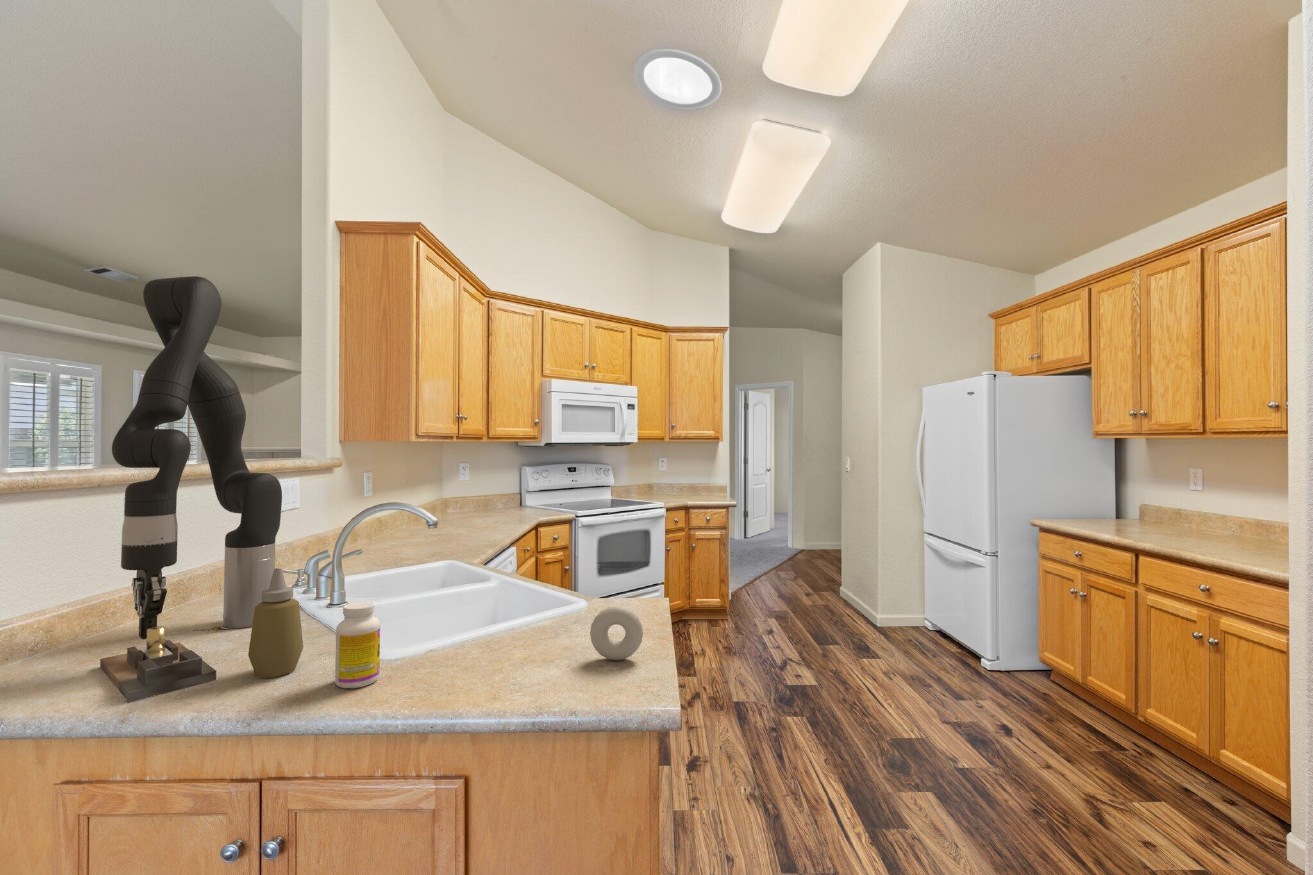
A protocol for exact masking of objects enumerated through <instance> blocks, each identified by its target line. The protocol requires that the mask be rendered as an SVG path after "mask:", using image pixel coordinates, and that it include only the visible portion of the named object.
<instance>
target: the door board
mask: <svg viewBox="0 0 1313 875" xmlns="http://www.w3.org/2000/svg"><path fill="white" fill-rule="evenodd" d="M165 648H166V649H168V650H169V651H170V652H171V653H173V663H172V664H168V665H163V666H159V667H158V666H157V665H156V664H155V663H154V662H153V661H152V660H151V659H148V660H143V654H142V653H141V652H140V651H139V648H137V647H136V646H130V647H127V648H126V653H122V654H118V655H113V656H108V657H104V658H100V659H99V661H100V662H99V667H100V669H101V670H102V671H103V673H104V674H105V675H106V677H107V678H108V679H109V680H110V681H111V683H112V684H113V685H114V686H115V687H116V689H117V688H118V689H117V690H118V691H119V692H120V694H121V695H122V696H123V697H124V699H125V700H126V699H127V700H126V701H127V702H128V703H132V702H136V701H139V700H140V701H141V700H143V699H147V698H146V697H148V698H152V697H155V696H158V695H161V694H162V695H163V694H168V693H170V691H171V692H174V690H175V691H178V690H181V689H185V688H190V687H193V686H197V685H200V684H206V683H208V682H209V683H210V682H213V681H217V670H216V669H215V668H213V667H212V666H211V665H210V664H208V663H207V662H206V661H204V660H203V657H201V656H200V655H199V654H197V653H196V652H195V651H193V650H192V649H189V648H187V647H186V646H185V645H183V644H182V643H181V642H176V643H174V642H173V641H171V640H170V639H165ZM189 686H190V687H189ZM154 695H155V696H154ZM151 696H152V697H151Z"/></svg>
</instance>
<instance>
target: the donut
mask: <svg viewBox="0 0 1313 875" xmlns="http://www.w3.org/2000/svg"><path fill="white" fill-rule="evenodd" d="M615 625H619V626H621V627H622V628H623V630H624V631H625V632H624V633H625V635H624V636H623V638H622V639H621V640H618V641H616V640H613V639H612V638H610V636H609V630H610V628H611V627H612V626H615ZM589 634H590V635H589V636H590V643H591V644H592V646H593V648H594V650H595V651H596V653H598V654H599V655H600V656H601V657H602V658H605V659H607V660H612V661H621V660H622V661H623V660H626V659H627V658H629V657H632V656H633V655H634V654H635V653H636V652H637V651H638V649H639V648H640V646H641V645H642V642H643V638H644V630H643V624H642V622H641V620H640V618H639V616H638V615H637V614H636V613H635V612H634V611H633V610H631V609H630V608H628V607H625V606H622V605H621V606H620V605H615V606H608V607H606V608H604V609H602V610H601V611H600V612H598V614H597V615H596V616H595V617H594V618H593V620H592V623H591V625H590V631H589Z"/></svg>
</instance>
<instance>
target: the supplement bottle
mask: <svg viewBox="0 0 1313 875" xmlns="http://www.w3.org/2000/svg"><path fill="white" fill-rule="evenodd" d="M374 612H375V603H374V602H371V601H357V602H351V603H347V604H345V605H343V608H342V614H343V617H344V619H343V620H341V621H340V622H339V623H338V624H337V625H336V629H335V668H334V671H335V673H334V678H335V679H334V683H335V685H336V686H337V687H339V688H342V689H347V688H350V689H358V688H363V687H366V686H369V685H371V684H374V683H375V682H377V681H378V679H379V677H380V671H381V670H380V669H381V666H380V665H381V663H380V662H381V657H380V656H381V655H380V654H381V622H380V620H379V619H378V618H377V617H375V616H373V615H374Z"/></svg>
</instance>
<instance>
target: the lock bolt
mask: <svg viewBox="0 0 1313 875" xmlns="http://www.w3.org/2000/svg"><path fill="white" fill-rule="evenodd" d="M165 640H166V626H165V625H157V626H155V627H151V628H148V629H147V639H146V646H143V647H140V648H138V650H139V651H140V652H141V653H142V654H143V660H148V659H151V660H152V661H153V662H154V663H155V664H156V665H157V666H158V667H159V666H163V665H168V664H172V663H173V653H171V652H170V651H169V650H168V649H166V648H165Z"/></svg>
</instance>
